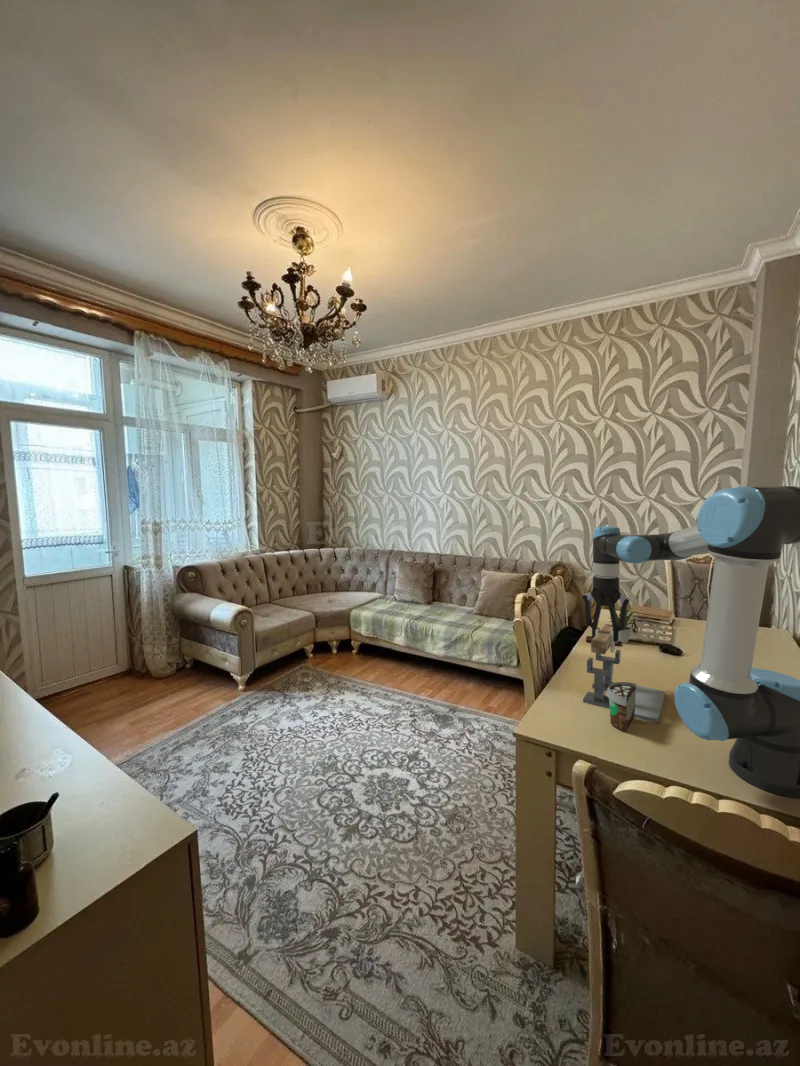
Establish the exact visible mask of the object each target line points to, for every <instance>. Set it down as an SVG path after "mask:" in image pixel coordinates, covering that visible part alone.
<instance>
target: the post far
mask: <svg viewBox="0 0 800 1066" xmlns="http://www.w3.org/2000/svg"><path fill="white" fill-rule="evenodd" d="M614 654H615V655H614V657H610V656H605V655H602V654H599V653H595V661H599V662H602V669H603V670H608V663H609V661H611V662H613V665H620V663H621V650H620V649H616V651H614ZM612 683H616V682H615V681H613V676H612V677H606V676H605V692H607V690H608V687H609V685H610V684H612ZM591 688H592V689H594V682H593V683H592V685H591Z"/></svg>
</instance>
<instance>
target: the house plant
mask: <svg viewBox="0 0 800 1066" xmlns="http://www.w3.org/2000/svg"><path fill="white" fill-rule="evenodd" d="M617 607H618V609H619V614H618V612H616V615H617V620H618V626H620V618H621V607H622V604H621V605H619V604H617ZM633 608H635V605H632V606H630V607H629V608H627V614H626V626H625V629H624V630H623V631H619V639H618V640H619V641H621V642H622V643H621V644H628V643H629V639H630V635H631V630H632V628H631V627H630V626H628V625H636V624H637V620H631V621H630V619H632V617H634V615H633V614H635V613H637V612H642V610H637V609H635V610H633ZM631 610H632V611H631ZM608 611H609V612H610V610H609V609H608ZM607 618H608V619H610V620H611V617H610V616H609V617H607ZM634 622H635V623H636V624H635V623H634ZM609 623H612V621H609Z"/></svg>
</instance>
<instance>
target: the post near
mask: <svg viewBox="0 0 800 1066" xmlns="http://www.w3.org/2000/svg"><path fill="white" fill-rule="evenodd" d="M593 661H594V658H593V657H590V656H589V657H588V658H587V661H586V673H589V674H593V675H594V678H593V679H594V680H593V681H594V682H593V683H594V688H593V691H594V692H591V691H587V692H586V694H585V695H584V697H583V699H582V703H586V704H589V705H594V706H598V707H602V708H606V709H609V710H610V703H609V698H608V697H607V695H605V693H606V691H605V676H606V677H612V678H613V676H614V664H613V662H611V661H609V663H608V670H603V668H597V667H593V666H594V665H593V664H594V663H593Z"/></svg>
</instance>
